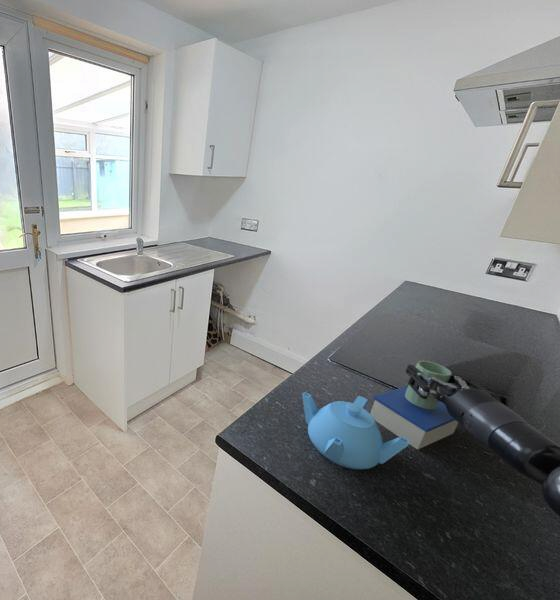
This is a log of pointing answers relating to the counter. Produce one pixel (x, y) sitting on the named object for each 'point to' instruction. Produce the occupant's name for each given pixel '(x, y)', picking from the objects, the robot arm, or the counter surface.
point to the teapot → (348, 434)
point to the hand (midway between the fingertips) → (423, 369)
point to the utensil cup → (431, 371)
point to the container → (412, 418)
